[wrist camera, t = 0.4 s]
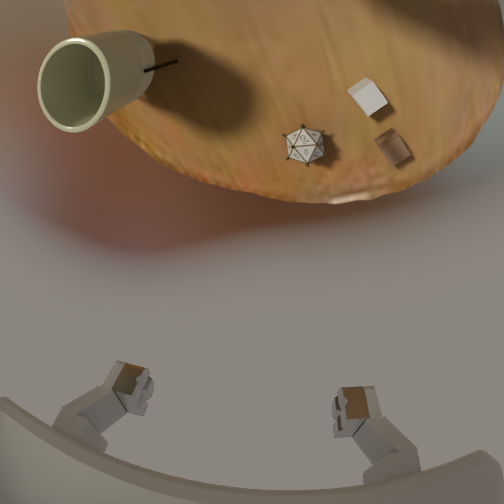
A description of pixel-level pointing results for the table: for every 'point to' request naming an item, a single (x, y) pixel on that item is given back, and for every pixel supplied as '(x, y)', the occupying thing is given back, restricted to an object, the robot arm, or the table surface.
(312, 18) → the table surface
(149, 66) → the planter
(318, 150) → the game die
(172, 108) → the table surface
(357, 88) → the grey block
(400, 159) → the walnut block
